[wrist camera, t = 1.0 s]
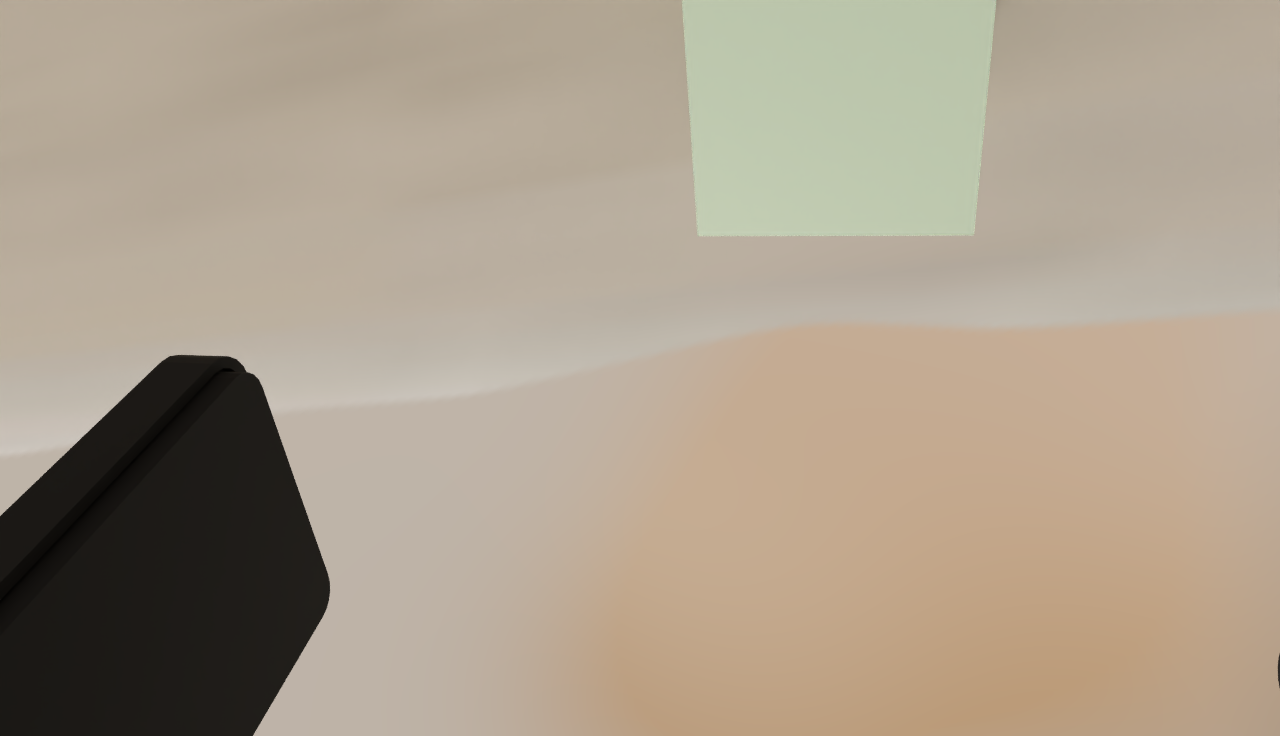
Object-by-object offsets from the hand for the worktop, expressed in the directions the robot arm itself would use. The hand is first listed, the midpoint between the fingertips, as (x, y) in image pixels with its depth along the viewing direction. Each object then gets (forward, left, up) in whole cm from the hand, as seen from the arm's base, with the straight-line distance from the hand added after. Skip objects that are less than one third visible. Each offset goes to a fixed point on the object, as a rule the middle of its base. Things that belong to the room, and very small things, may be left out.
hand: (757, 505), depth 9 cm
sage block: (0, 0, -18) cm, 18 cm away
